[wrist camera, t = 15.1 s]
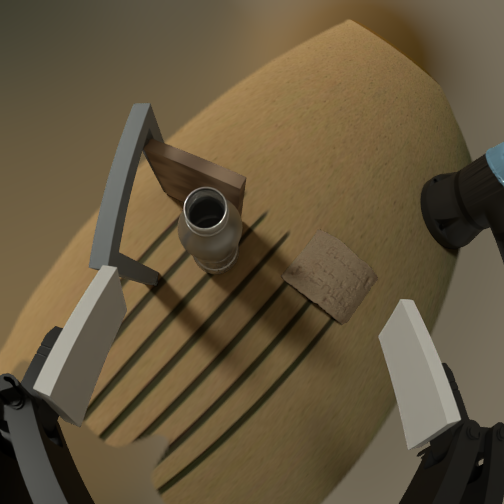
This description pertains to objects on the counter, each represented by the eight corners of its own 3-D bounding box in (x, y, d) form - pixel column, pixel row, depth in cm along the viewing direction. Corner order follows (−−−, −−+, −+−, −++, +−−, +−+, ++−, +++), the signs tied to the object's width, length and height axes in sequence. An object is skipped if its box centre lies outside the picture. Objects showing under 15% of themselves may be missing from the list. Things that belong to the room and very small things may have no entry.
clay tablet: (378, 279, 43) (386, 278, 41) (346, 331, 41) (353, 332, 39) (312, 225, 44) (317, 220, 42) (274, 275, 42) (277, 273, 40)
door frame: (175, 173, 44) (150, 103, 26) (156, 285, 40) (107, 270, 22) (164, 173, 43) (133, 103, 26) (144, 283, 40) (88, 267, 22)
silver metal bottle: (235, 228, 43) (240, 165, 23) (241, 273, 41) (251, 243, 22) (192, 234, 42) (163, 175, 22) (197, 279, 41) (168, 254, 21)
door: (161, 192, 42) (136, 145, 28) (170, 177, 43) (149, 127, 29) (236, 226, 42) (239, 189, 28) (244, 211, 43) (251, 168, 29)
